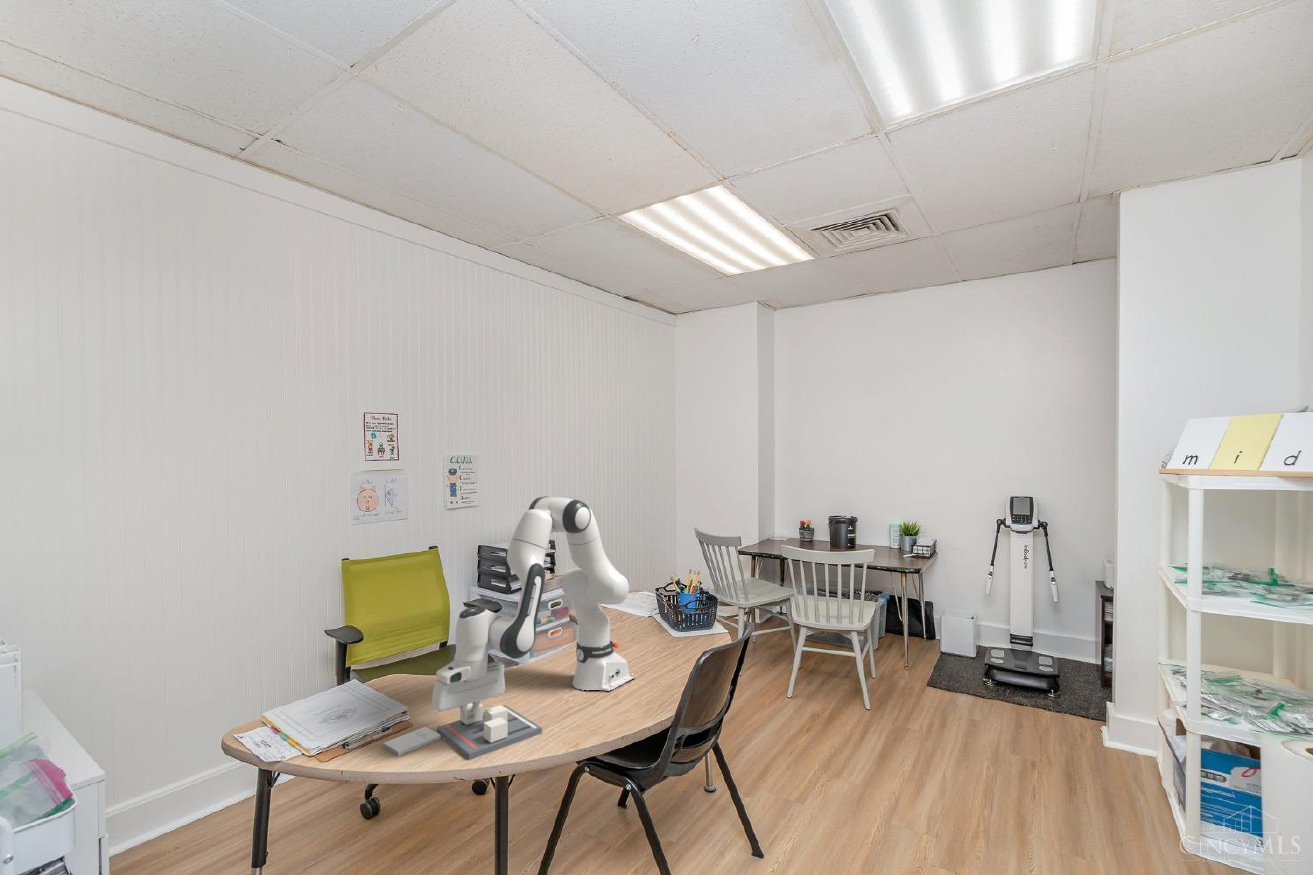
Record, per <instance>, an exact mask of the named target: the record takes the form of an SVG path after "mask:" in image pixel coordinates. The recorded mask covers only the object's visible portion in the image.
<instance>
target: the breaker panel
mask: <svg viewBox="0 0 1313 875" xmlns="http://www.w3.org/2000/svg"><path fill="white" fill-rule="evenodd" d="M502 706H503V707H504V708H506V709H508V717H507V722H508V732H507V737H505V738H503V739H500V740H497V741H494V742H491V743H490V742H489V741H488V740H486V739H485V738H484V737H483V736H484V722H485V711H483V720H480V721H477V722H474V723H471V724H468V725H466V724H465V723H463V722H462V721H461V720H460V719H458V720H456V721H453V722H449V723H445V724H442V725H439V726H437V727H436V732H437V733H438V734H440V735H441V739H443V740H445V741H446V742H447V743H449V745H451V746H452V745H453V746H452V747H453V748H454V749H456V750H457V751H458V752H459V753H461V754H462V755H463V756H464V757H465V758H467V759H468V761H469V760H473V759H475V758H478V757H481V756H483V755H486V754H489V753H491V752H495V751H498V750H500V749H503V748H505V747H508V746H511V745H513V744H515V743H519V742H522V741H524V740H527V739H531V738H532V737H535V736H538V735H541V734H543V727H542V726H540V725H539V724H538V723H535V722H534V721H532V720H530V719H529V718H527V717H526V716H525V715H523V714H521V713H520V712H518V711H517V710H514V708H511V707H510V706H508V705H506V704H505V705H502Z"/></svg>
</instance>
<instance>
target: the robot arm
mask: <svg viewBox="0 0 1313 875" xmlns="http://www.w3.org/2000/svg"><path fill="white" fill-rule="evenodd" d="M553 533H565V535H566V541H567V545H568V549H569V553H570V556H571V560H572V562H573V563H574V565H576V567H577V568H570V569H568V570H566V572H564V575H563V577H562V580H561V589H562V592H563V594H564V595H565V596H566V597H567V598H568V600H569V601H570V603H571V605H572V607H573V609H574V611H575V615H576V620H577V641H576V646H575V648H576V650H575V651H576V652H575V654H576V664H575V670H574V671H575V672H574V675H573V678H572V679H573V680H572V683H571V684H573V685H572V686H573V687H574V688H575V689H577V690H580V689H581V690H580V691H584V690H587V691H586V692H589V691H588V690H605V691H610V690H612V689H614V690H616V689H617V688H616V687H618V686H619V685H621V684H623V683H624V682H627V681H629V680H630V679H632V678H633V677H631V676H629V675H630V674H629V671H630V670H629V664H628V661H627V660H626V659H625V658H624V657H623V656H621V655H620V654H618V653H617V652H616V651H615V650H614V648H615V649H619V647H620V643H619V641H618V642H617V641H612V640H611V620H610V618H609V615H608V614H606V613H605V612H604V611H603V610H602V608H601V606H600V605H608V606H612V605H613V606H614V605H621V604H623V603H624V602H625V600H626V599H627V598H628V597H629V596H628V595H629V593H630V585H629V581H628V579H627V578H626V577H625V575H623V574H621V572H619V571H618V570H617V569H616V568H615V566H614V565H613V564H612V562H611V561H610V560H609V558H608V556H607V554H606V552H605V549H604V545H603V542H602V537H601V533H600V529H599V526H598V522H597V519H596V518H595V515H594V513H593V511H592V509H591V508H590V507H589V506H588V505H587V504H586V503H585V502H583V501H582V500H579V499H571V498H568V497H563V496H562V497H561V496H560V497H559V496H558V497H557V496H556V497H555V496H553V497H552V496H539V497H537V498H535V499H534V500H533V501H532V502H531V504H530V505H529V507H528V510H526V511H525V512H524V513H523V514H522V517H521V518H520V520H519V522H518V524H517V526H516V528H515V530H514V532H513V535H512V537H511V540H510V542H509V545H508V549H507V552H506V563H507V564H508V566H509V569H511V571H512V572H513V573H514V574H515V575H516V577H517V578H518V579H519V582H520V584H521V591H520V595H519V596H520V597H519V600H518V606H517V609H516V613H515V616H514V617H510V616H508V615H505V614H502V613H498V612H497V613H496V612H493V611H490V610H489V609H487V608H486V607H485V606H479V605H478V606H471V607H468V608H465V609H464V610H462V611H461V612H460V613H459V615H458V617H457V620H456V626H455V636H454V644H455V648H456V650H455V655H454V660H453V661H451V662H450V663H447V665H445V666H443V667H441V668H440V669H438V670H437V671H435V672H436V673H435V676H436V679H437V680H436V681H435V683H434V686H433V688H432V695H431V696H432V697H431V706H432V709H434V711H436V712H438V713H442V712H446V711H449V710H452V709H456V708H459V710H460V709H461V711H462V713H463V720H469V719H472V718H475V714H476V710H477V709H478V707H479V705H480V704H481V701H485V700H488V699H491V698H495V697H497V696H498V697H499V696H502V695H503V694H505V693H504V692H505V691H506V681H505V680H506V679H505V674H504V673H505V664H504V663H503V662H501V661H500V660H499V661H498V660H497V661H495V662H489V663H488V660H489V656H488V655H489V654H488V653H489V651H491V650H493V651H496V652H500V653H502V654H504V655H505V656H507V657H509V658H510V659H514V660H515V659H521V658H523V657H524V656H526V655H527V654H528V653H529V652H530V651H531V650H532V648H533V647H534V646H535V642H536V637H537V620H538V616H539V612H540V607H541V602H542V601H541V600H542V596H543V593H544V586H545V582H546V580H545V579H546V571H545V570H546V569H545V567H544V566H545V565H544V563H545V557H546V553H547V550H548V548H549V544H550V543H549V542H550V539H551V535H552V534H553ZM632 675H635V674H634V673H633V672H632ZM615 688H616V689H615ZM618 688H619V687H618ZM605 691H604V692H605ZM612 691H613V690H612ZM610 692H611V691H610ZM470 703H472V704H473V705H472V708H471V710H469V711H466V709H465V708H467V704H470Z"/></svg>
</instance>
